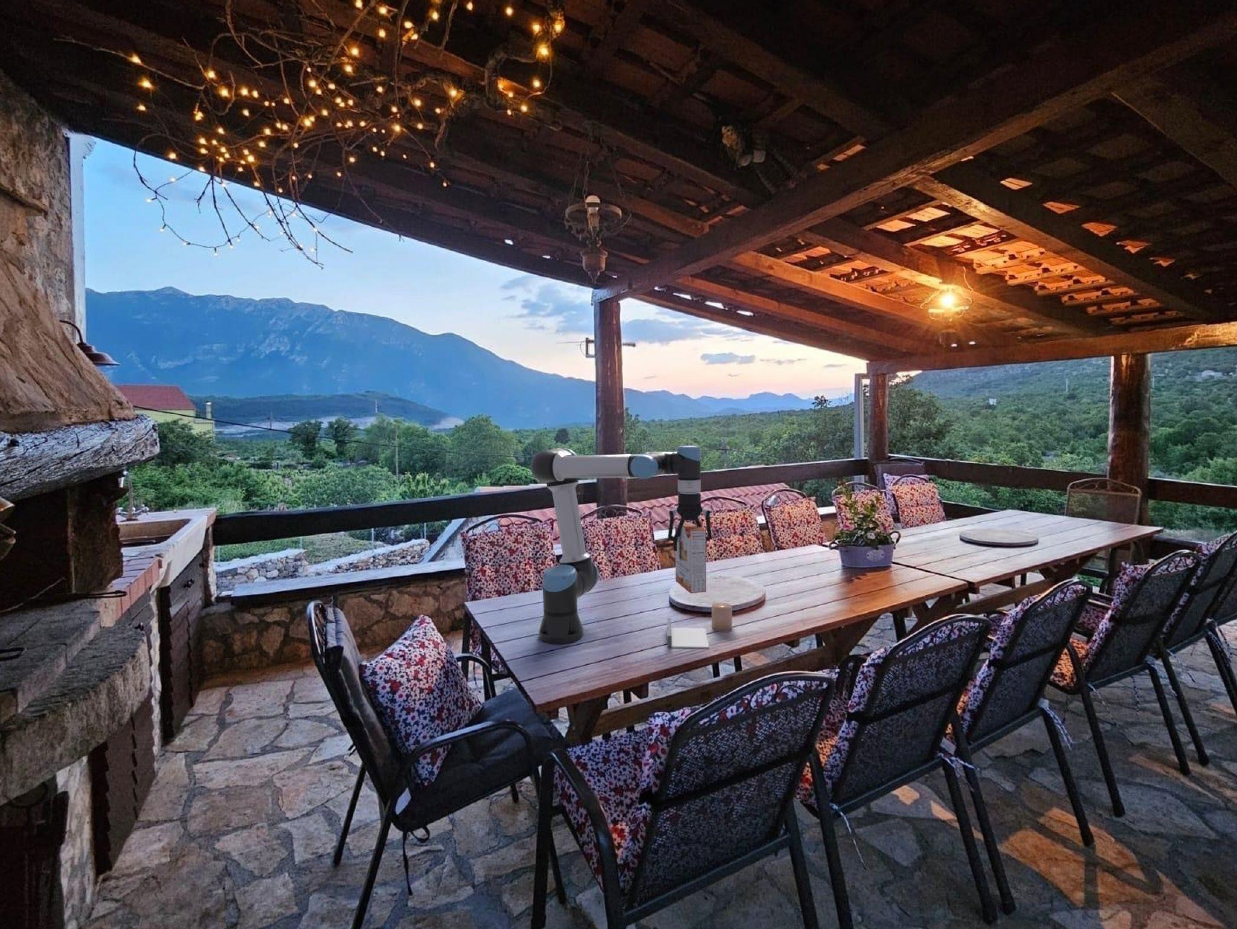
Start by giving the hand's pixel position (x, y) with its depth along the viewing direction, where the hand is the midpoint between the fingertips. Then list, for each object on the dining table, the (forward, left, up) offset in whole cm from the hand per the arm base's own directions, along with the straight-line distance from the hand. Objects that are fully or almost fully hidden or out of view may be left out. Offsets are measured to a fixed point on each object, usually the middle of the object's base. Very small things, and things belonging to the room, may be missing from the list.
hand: (690, 560), depth 184 cm
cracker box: (0, 0, -9) cm, 9 cm away
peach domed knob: (+11, +10, -27) cm, 31 cm away
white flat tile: (-1, 0, -27) cm, 27 cm away
